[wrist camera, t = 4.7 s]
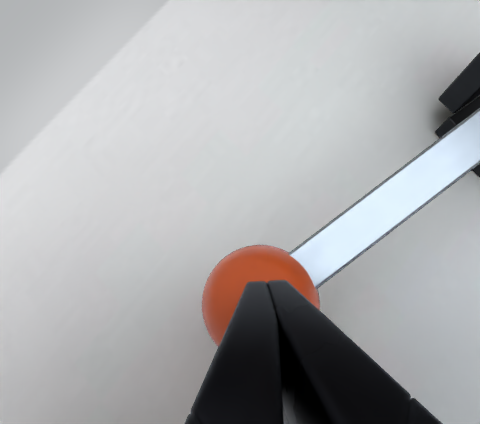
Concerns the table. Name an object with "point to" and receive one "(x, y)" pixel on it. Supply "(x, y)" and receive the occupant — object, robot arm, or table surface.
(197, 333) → the table surface
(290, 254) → the switch
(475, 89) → the switch bracket
